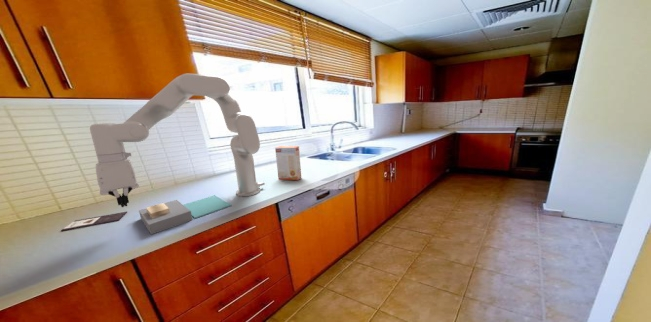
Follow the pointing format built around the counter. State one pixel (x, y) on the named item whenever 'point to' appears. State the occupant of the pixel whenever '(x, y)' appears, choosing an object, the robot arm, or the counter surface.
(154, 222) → the block
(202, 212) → the mat
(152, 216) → the tan rectangular block
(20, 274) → the counter surface
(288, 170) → the cracker box
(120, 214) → the chocolate bar
